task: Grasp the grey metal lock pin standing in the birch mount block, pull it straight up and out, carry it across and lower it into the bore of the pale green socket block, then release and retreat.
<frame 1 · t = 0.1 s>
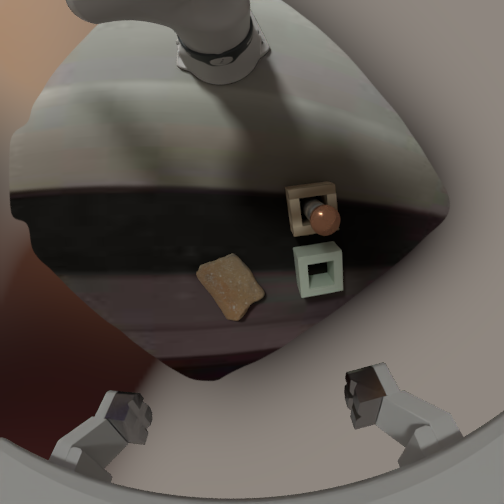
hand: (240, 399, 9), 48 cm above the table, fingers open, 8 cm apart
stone: (232, 285, 62), on the table
socket block: (315, 263, 59), on the table
mount block: (309, 205, 55), on the table
lock pin: (316, 212, 49), in the mount block
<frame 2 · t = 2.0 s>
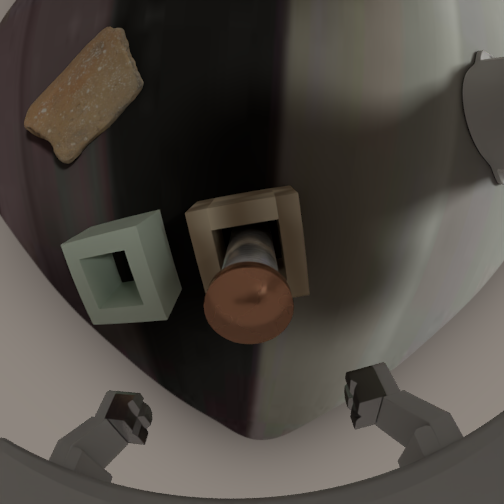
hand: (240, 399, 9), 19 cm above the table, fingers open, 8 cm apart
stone: (83, 99, 22), on the table
socket block: (134, 257, 28), on the table
mount block: (251, 237, 27), on the table
lock pin: (250, 263, 21), in the mount block
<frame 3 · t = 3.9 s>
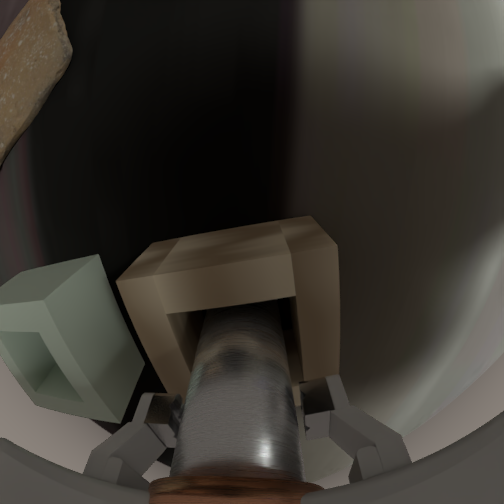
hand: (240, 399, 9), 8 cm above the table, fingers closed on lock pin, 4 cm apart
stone: (8, 90, 11), on the table
socket block: (76, 318, 17), on the table
mount block: (243, 300, 16), on the table
lock pin: (240, 379, 10), in the mount block, touching gripper
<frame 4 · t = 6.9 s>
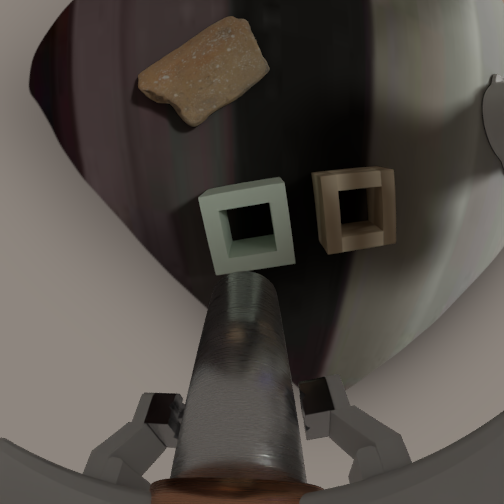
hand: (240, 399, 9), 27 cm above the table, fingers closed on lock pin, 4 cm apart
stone: (203, 74, 28), on the table
socket block: (249, 217, 35), on the table
mount block: (348, 203, 34), on the table
lock pin: (241, 380, 10), point 26 cm above the table, touching gripper
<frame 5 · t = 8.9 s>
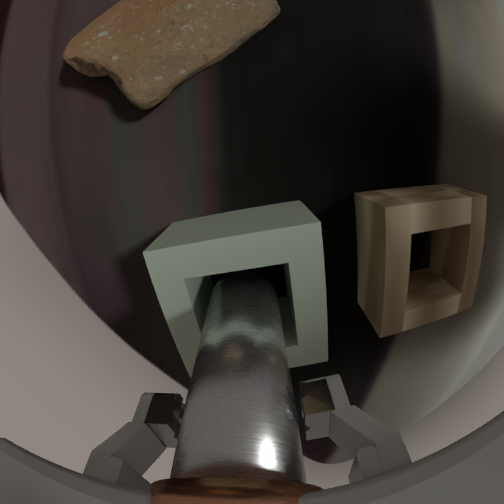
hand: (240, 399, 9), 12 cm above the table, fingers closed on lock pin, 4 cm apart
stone: (167, 26, 14), on the table
socket block: (246, 270, 20), on the table
mount block: (406, 242, 19), on the table
lock pin: (241, 380, 10), point 11 cm above the table, touching gripper
when the fingers open (10 cm above the table, at t = 10.1 s): lock pin drops 2 cm, resting in socket block.
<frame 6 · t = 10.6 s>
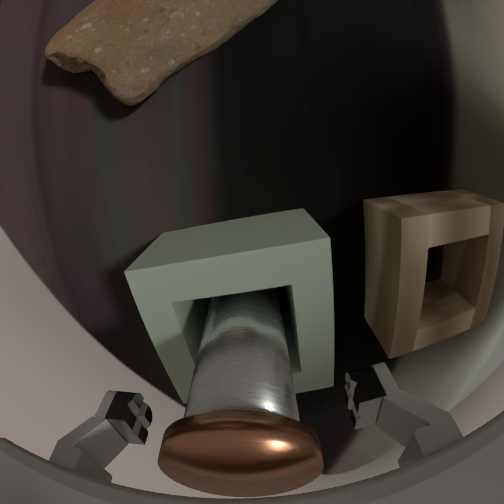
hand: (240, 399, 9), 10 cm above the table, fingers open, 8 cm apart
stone: (156, 16, 12), on the table
socket block: (243, 285, 18), on the table
mount block: (417, 253, 17), on the table
lock pin: (243, 349, 12), in the socket block
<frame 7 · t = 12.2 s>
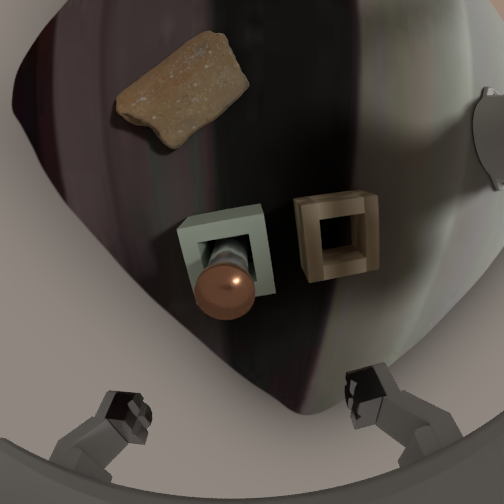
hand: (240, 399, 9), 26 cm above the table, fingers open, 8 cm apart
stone: (181, 93, 28), on the table
socket block: (230, 244, 34), on the table
mount block: (331, 228, 34), on the table
lock pin: (228, 264, 28), in the socket block
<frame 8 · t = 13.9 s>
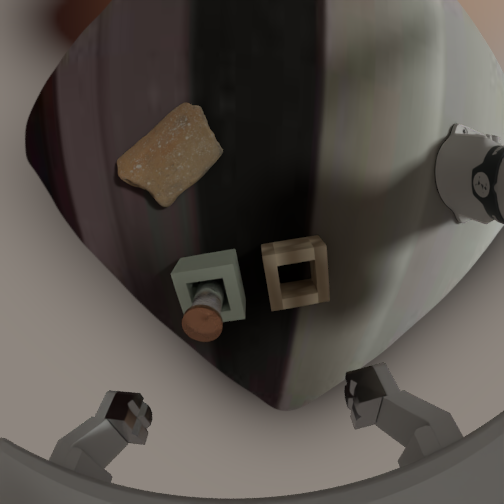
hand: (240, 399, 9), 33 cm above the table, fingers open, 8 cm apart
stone: (169, 157, 38), on the table
socket block: (213, 279, 44), on the table
mount block: (293, 266, 43), on the table
lock pin: (208, 299, 38), in the socket block
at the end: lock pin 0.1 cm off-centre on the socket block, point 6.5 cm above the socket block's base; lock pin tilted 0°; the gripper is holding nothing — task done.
